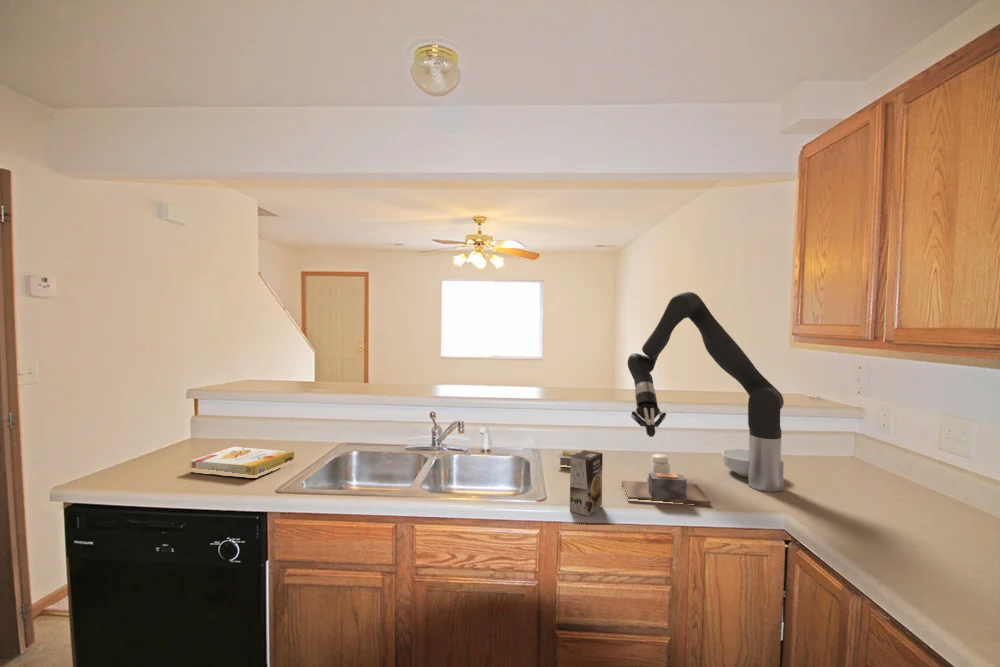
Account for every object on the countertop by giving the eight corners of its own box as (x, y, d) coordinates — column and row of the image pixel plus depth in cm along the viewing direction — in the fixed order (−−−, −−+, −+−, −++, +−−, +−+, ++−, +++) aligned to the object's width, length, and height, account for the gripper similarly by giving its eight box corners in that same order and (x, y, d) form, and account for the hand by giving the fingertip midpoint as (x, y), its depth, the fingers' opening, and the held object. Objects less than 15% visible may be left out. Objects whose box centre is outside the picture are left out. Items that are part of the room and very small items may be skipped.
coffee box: (589, 516, 128) (589, 460, 127) (568, 511, 131) (569, 455, 131) (602, 506, 135) (603, 452, 134) (583, 501, 139) (583, 448, 138)
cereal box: (254, 465, 155) (188, 458, 161) (254, 481, 155) (188, 474, 161) (295, 450, 174) (234, 444, 181) (295, 464, 174) (234, 458, 181)
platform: (551, 461, 179) (551, 445, 179) (597, 466, 173) (597, 449, 173) (544, 471, 167) (544, 453, 167) (593, 476, 162) (593, 458, 161)
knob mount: (696, 488, 149) (696, 465, 149) (710, 506, 135) (710, 480, 135) (621, 485, 152) (622, 461, 152) (628, 501, 138) (628, 476, 138)
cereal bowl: (761, 467, 172) (762, 449, 171) (784, 483, 155) (785, 462, 155) (714, 465, 173) (715, 447, 173) (732, 481, 157) (733, 461, 156)
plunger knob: (665, 480, 152) (666, 454, 151) (669, 486, 147) (669, 458, 146) (650, 480, 152) (650, 453, 152) (653, 485, 147) (653, 458, 147)
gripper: (629, 390, 173) (633, 429, 161) (665, 390, 171) (672, 430, 160) (627, 401, 179) (631, 440, 167) (661, 402, 177) (668, 441, 165)
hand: (651, 435), depth 163 cm, fingers closed
